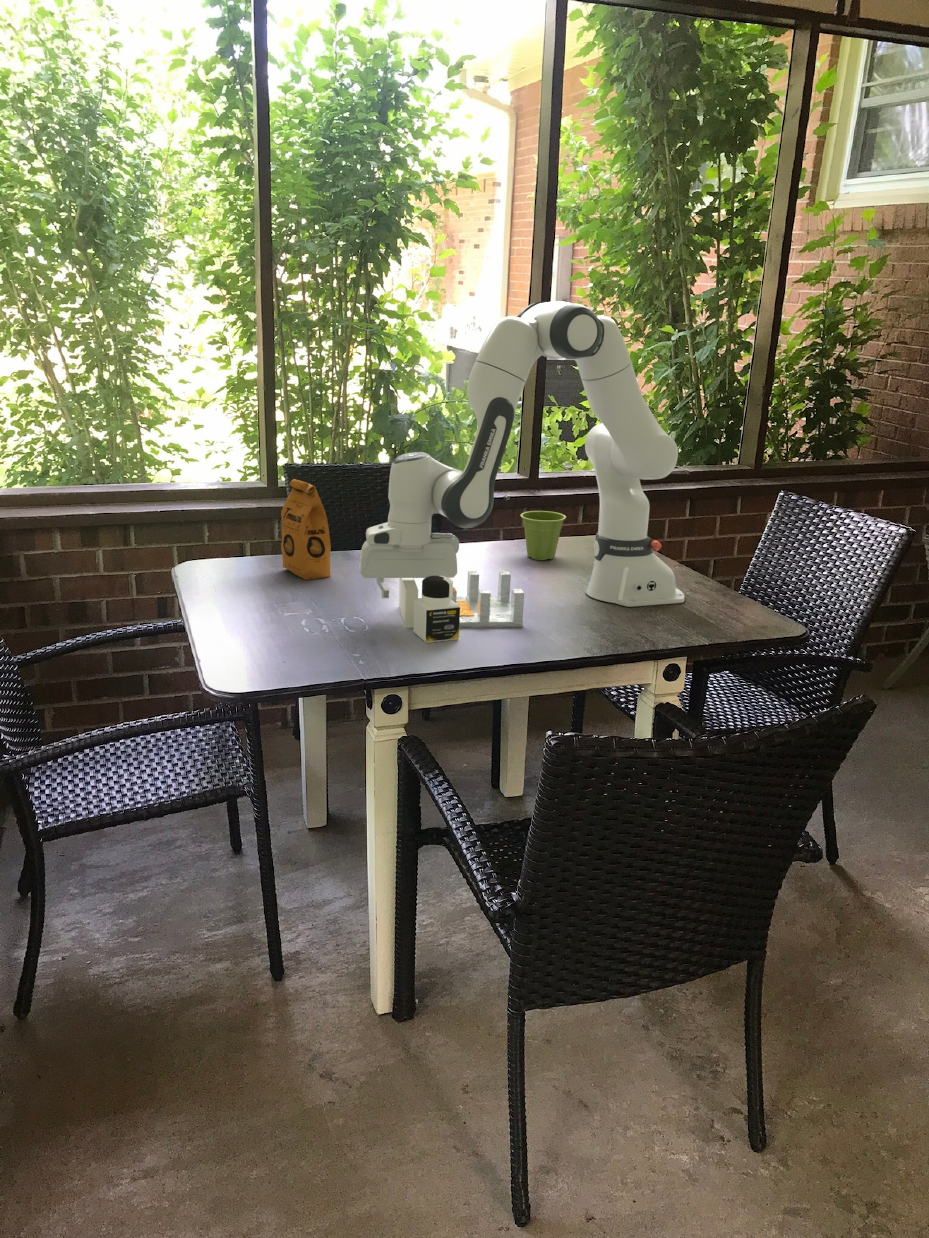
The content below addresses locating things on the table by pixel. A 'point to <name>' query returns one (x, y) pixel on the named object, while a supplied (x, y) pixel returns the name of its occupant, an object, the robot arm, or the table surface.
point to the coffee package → (305, 533)
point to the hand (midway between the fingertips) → (407, 597)
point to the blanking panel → (407, 600)
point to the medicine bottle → (436, 611)
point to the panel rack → (490, 604)
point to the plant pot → (542, 533)
